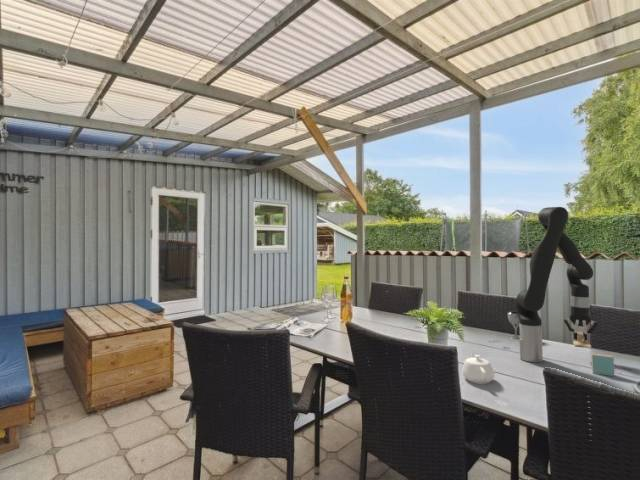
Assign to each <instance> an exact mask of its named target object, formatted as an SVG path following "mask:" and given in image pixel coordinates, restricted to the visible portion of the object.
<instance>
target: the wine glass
mask: <svg viewBox="0 0 640 480" xmlns="http://www.w3.org/2000/svg"><path fill="white" fill-rule="evenodd" d="M507 319H508V321H509V323H510V324H511V325H512V326H513V329H514V331H515V332H514V335H509V336H508V337H509V338H510V339H514V340H520V335H517V332H518V331H517V330H518V327H519V318H518V315H517V310H509V311H507Z"/></svg>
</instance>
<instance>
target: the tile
mask: <svg viewBox="0 0 640 480" xmlns="http://www.w3.org/2000/svg"><path fill="white" fill-rule="evenodd" d="M614 359H615V358H614V355H608V354H599V353H591V372H592V374H596V375H604V376H609V377H610V376H611V377H615V364H614V363H615V362H614V361H615V360H614Z"/></svg>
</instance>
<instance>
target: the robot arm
mask: <svg viewBox="0 0 640 480" xmlns="http://www.w3.org/2000/svg"><path fill="white" fill-rule="evenodd" d="M568 212H569V211H568V209H566V208H565V207H562V206H551V207H550V206H547V207H544V208H542V209H541V210H539V212H538V214H537V217H538V221H539V223H540V224H541V226H542V227H543V228H544V230H545V231H546V232H545V234H544V236H543V237H542V238H541V240H540V241H539V242H538V243H537V244H536V245H535V247H533V249H532V250H533V251H532V253H531V257H530V261H529V273H530V279H529V280H530V281H529V284H528V289H527V290H526V289H525V290H520V291H519V293H518V294H517V295H516V311H517V315H518V318H519V326H518V327H519V336H520V339H519V360H521V361H526V362H529V363H542V362H543V361H544V359H543V358H544V357H543V356H544V355H543V354H544V353H543V333H542V332H543V331H542V330H543V327H542V326H543V325H542V318H541V317H540V316H539V313H538V311H540V310H542V308H543V306H544V304H545V299H546V294H547V293H546V291H547V286H548V282H549V279H550V275H551V271H552V268H553V266H554V261H555V258H556V253H557V250H558V251H559V252H560V254H561V256H562V258H563V260H564V262H565V263H566V264H568V265H569V266H568V267H567V268H566V277H567V280H568V284H569V286H570V301H569V304H570V305H569V307H570V315H569V318H568V317H567V318H563V322H564V323H565V325H566V327H567V329H568V331H570V332H572V333H573V335H572V336H573V339H574V341H577V331H578V328H579V327H582V330H583V331H582V333H583V336H584V342H588V334H593V332H594V330H596V327H597V326H598V322H597V321H594V320H592V318H591V303H590V287H589V286H588V285H587V284H585V283H583V281H582V280H584V281H588V280H591V279H592V278H593V277H594V270H593V267H592V265H590V263H588V261H587V260H585V258H584V257H583V256H582V255H581V253H580V251H579V248H578V246H577V245H576V243H575V242H574V241H573V240H572V239H571V238H570V237H569V236H568V235H566V233H565V232H564V231H565V228H566V227H567V226H566V225H567V223H568V220H569V213H568ZM570 322H571V323H572V324H573V327H571V325H570ZM588 325H591V326H590V327H589V329H587V326H588Z"/></svg>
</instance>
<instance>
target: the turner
mask: <svg viewBox="0 0 640 480" xmlns="http://www.w3.org/2000/svg"><path fill="white" fill-rule="evenodd" d="M583 333H584V332H583V331H580V330H579V331H578V330H577V341H576V340H573V341H572V342H573V346H574V347H575V348H576V347H577V348H581V349H582V348H583V349H590V350H592V346H591V344H590V342H588V341H585V342H584V336H583Z"/></svg>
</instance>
